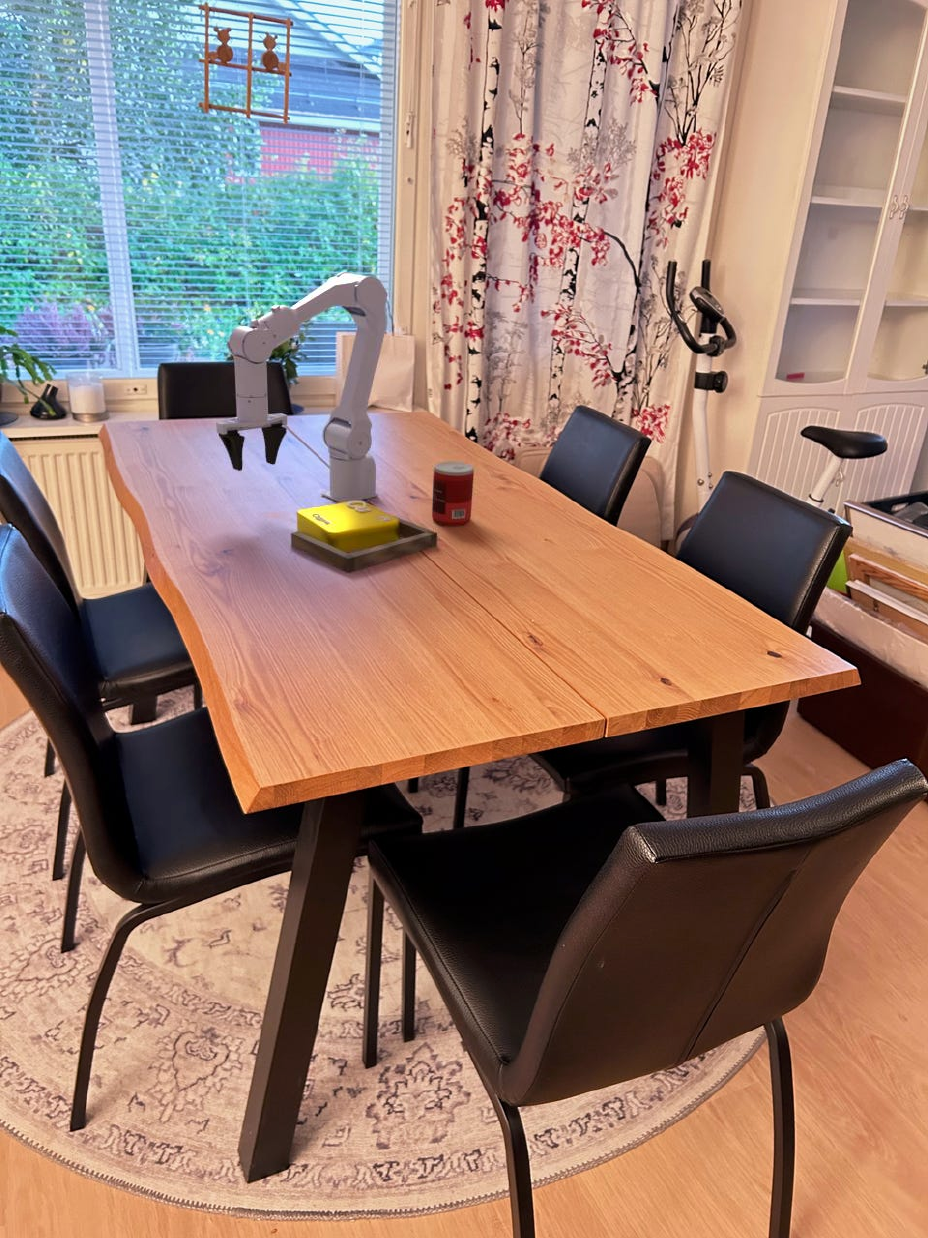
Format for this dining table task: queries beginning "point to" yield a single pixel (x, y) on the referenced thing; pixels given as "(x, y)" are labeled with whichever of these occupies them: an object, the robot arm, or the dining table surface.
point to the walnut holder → (412, 543)
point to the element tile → (349, 525)
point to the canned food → (452, 493)
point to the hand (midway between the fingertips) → (254, 466)
